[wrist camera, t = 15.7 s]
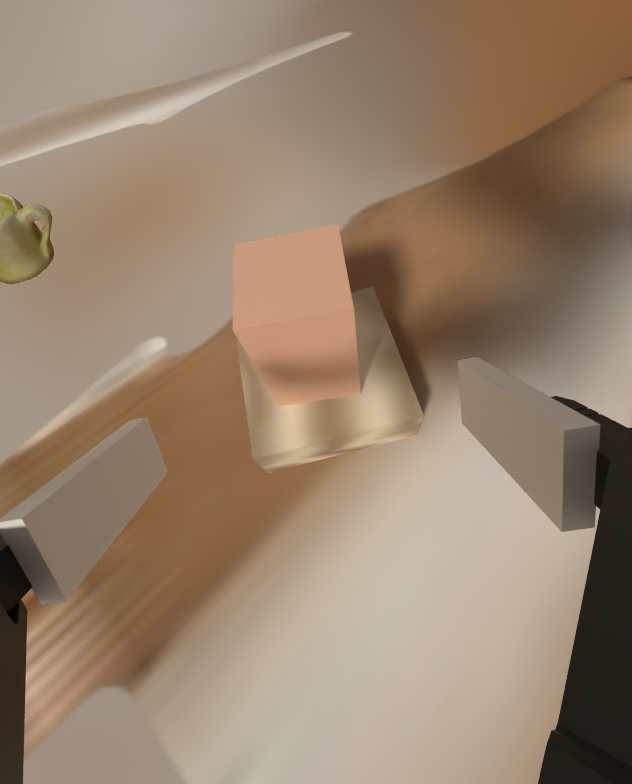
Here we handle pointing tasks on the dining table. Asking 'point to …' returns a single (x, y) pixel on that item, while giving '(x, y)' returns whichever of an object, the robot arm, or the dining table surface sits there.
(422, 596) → the dining table surface
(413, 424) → the ash block
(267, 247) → the terracotta block
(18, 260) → the mug
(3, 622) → the robot arm
